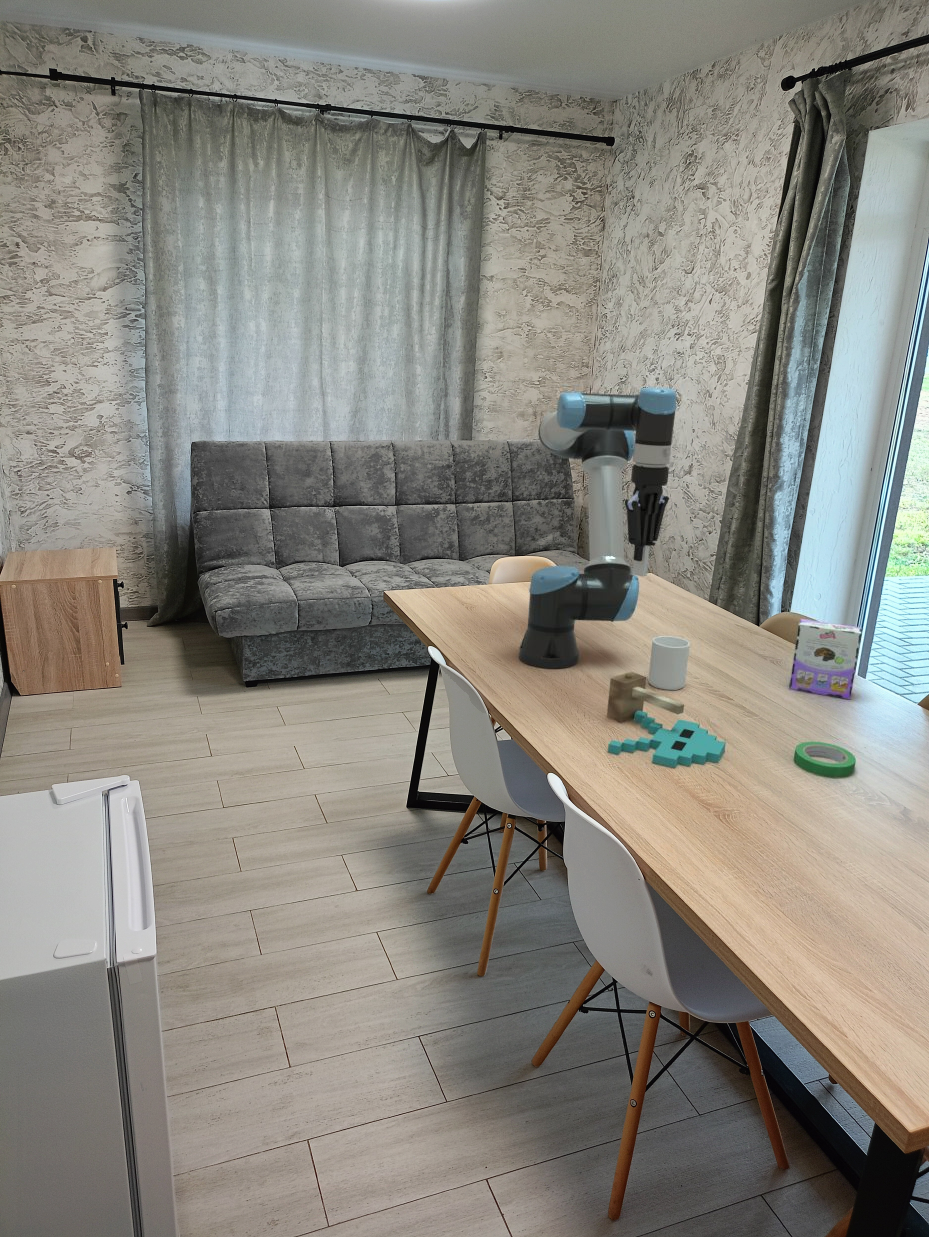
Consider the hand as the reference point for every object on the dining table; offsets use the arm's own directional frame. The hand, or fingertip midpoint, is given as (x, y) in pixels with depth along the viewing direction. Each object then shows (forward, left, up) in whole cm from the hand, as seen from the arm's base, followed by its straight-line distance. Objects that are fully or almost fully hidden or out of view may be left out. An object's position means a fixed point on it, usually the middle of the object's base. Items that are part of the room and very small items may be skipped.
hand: (639, 574), depth 195 cm
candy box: (+25, +43, -30) cm, 58 cm away
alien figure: (+20, -12, -30) cm, 38 cm away
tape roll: (+44, +4, -30) cm, 53 cm away
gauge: (+11, -8, -29) cm, 32 cm away
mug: (-2, +18, -30) cm, 35 cm away
